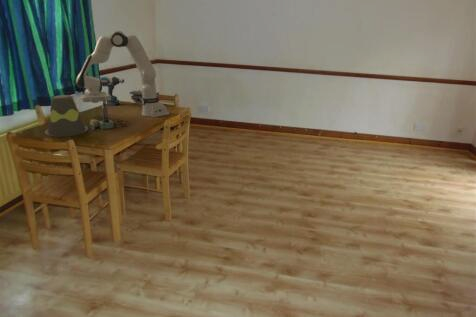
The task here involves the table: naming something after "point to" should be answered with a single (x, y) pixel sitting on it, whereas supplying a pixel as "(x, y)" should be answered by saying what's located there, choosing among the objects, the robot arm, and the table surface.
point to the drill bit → (105, 112)
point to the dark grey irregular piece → (138, 97)
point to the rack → (119, 123)
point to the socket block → (102, 125)
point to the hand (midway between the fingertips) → (99, 100)
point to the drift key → (95, 122)
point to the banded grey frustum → (64, 118)
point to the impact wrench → (111, 88)
